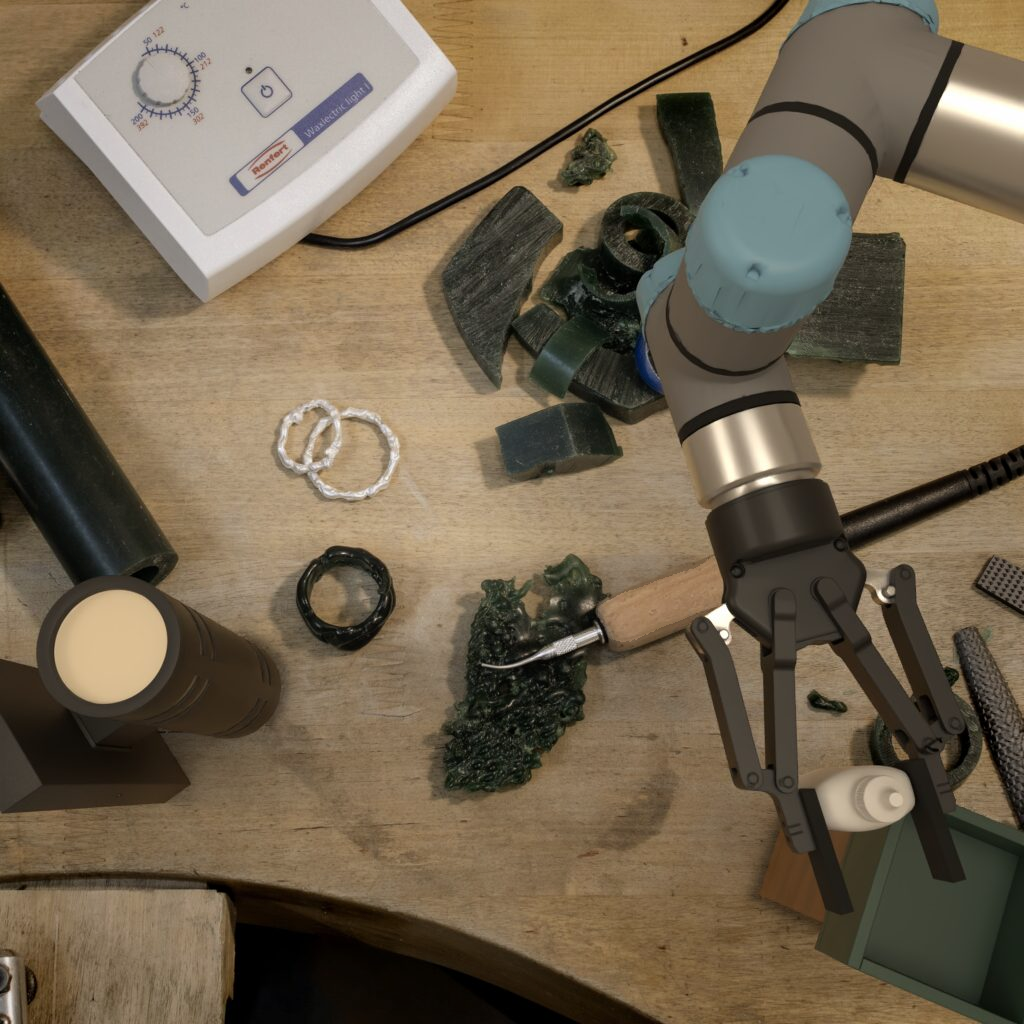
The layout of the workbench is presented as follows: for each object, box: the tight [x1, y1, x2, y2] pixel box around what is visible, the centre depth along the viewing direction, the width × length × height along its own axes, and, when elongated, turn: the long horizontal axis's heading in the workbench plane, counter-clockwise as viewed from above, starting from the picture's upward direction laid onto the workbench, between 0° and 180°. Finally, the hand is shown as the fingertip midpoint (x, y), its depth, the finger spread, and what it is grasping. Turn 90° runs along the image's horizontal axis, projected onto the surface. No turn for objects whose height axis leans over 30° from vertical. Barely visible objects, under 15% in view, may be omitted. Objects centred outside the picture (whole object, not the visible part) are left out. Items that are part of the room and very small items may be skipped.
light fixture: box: [0, 574, 282, 815], centre depth 82 cm, size 10×15×33 cm
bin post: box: [758, 826, 851, 923], centre depth 83 cm, size 8×8×25 cm
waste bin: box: [814, 804, 1024, 1024], centre depth 68 cm, size 12×12×7 cm
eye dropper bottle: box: [798, 764, 915, 832], centre depth 59 cm, size 4×6×12 cm
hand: (894, 893), depth 57 cm, fingers closed on eye dropper bottle, 6 cm apart
